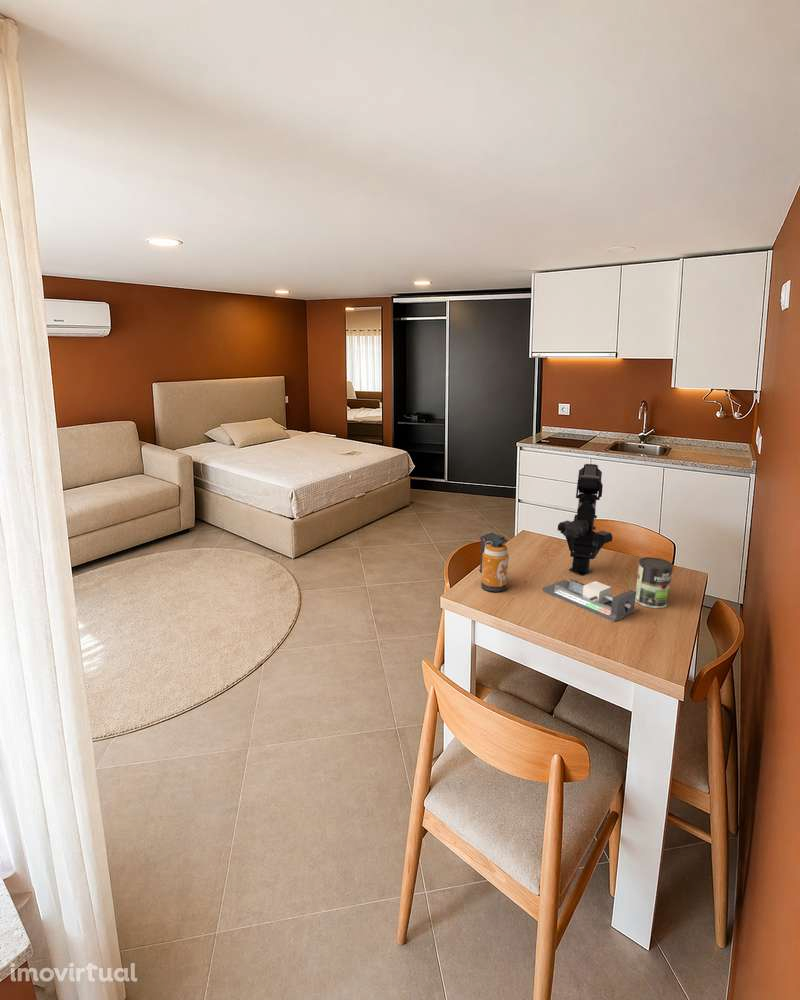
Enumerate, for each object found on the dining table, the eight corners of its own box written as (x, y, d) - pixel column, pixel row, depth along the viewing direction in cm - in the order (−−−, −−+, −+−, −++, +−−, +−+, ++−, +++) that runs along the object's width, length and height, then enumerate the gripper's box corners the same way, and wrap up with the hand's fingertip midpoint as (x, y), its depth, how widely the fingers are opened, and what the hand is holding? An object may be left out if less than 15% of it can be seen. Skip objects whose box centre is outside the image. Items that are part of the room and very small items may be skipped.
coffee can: (674, 606, 181) (680, 566, 177) (648, 610, 178) (653, 570, 174) (652, 593, 190) (658, 555, 186) (627, 596, 188) (632, 558, 184)
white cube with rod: (593, 594, 186) (595, 581, 184) (634, 610, 174) (636, 596, 173) (576, 601, 180) (578, 587, 179) (617, 619, 169) (619, 604, 167)
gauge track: (563, 582, 199) (565, 564, 197) (635, 611, 177) (637, 591, 175) (542, 590, 192) (543, 571, 190) (614, 621, 170) (616, 600, 168)
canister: (495, 595, 188) (498, 540, 183) (471, 585, 196) (473, 532, 191) (511, 588, 194) (515, 535, 188) (488, 578, 202) (490, 527, 196)
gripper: (549, 510, 191) (546, 551, 195) (595, 523, 177) (591, 568, 181) (569, 505, 198) (565, 545, 202) (615, 517, 183) (610, 560, 187)
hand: (582, 554), depth 193 cm, fingers open, 9 cm apart
